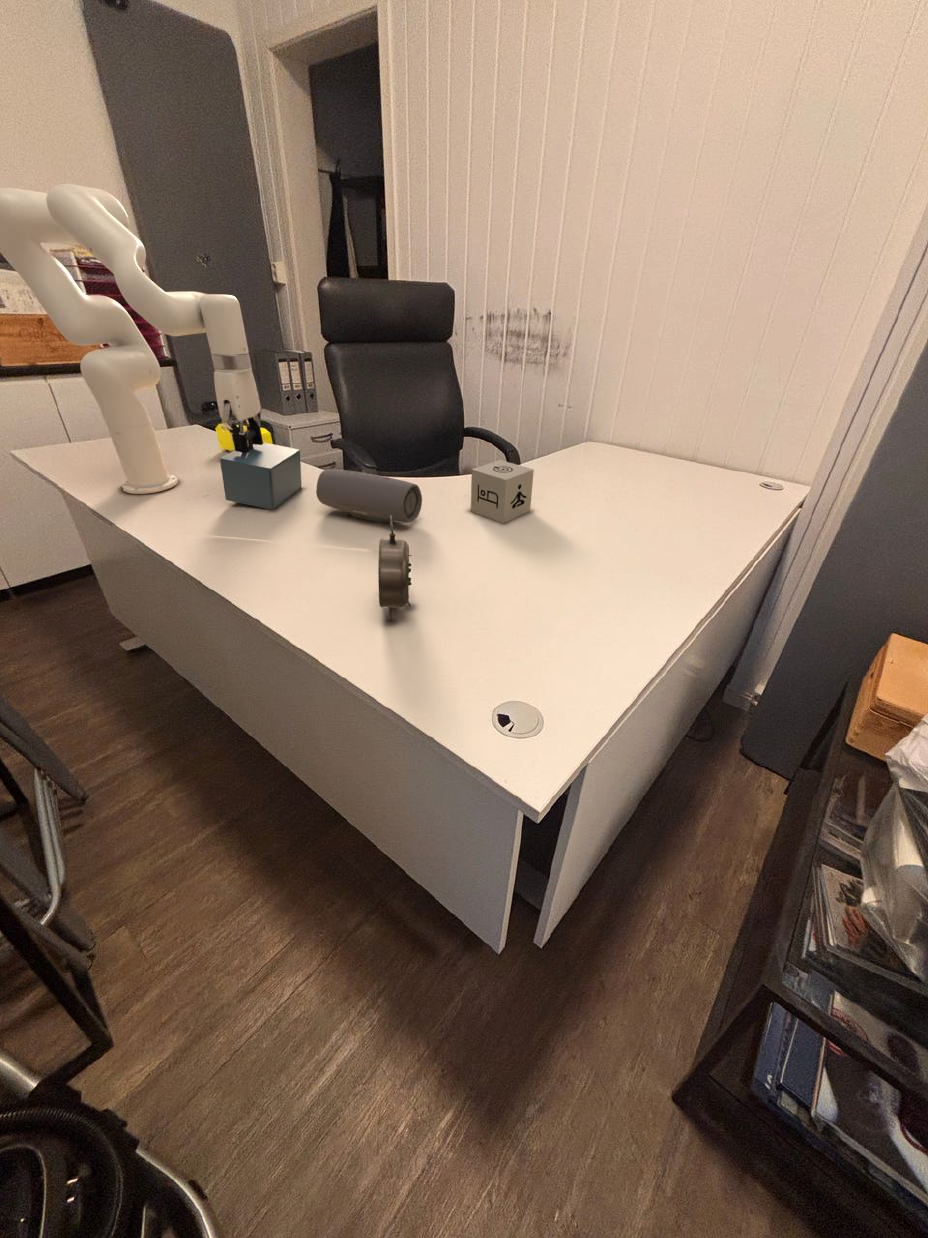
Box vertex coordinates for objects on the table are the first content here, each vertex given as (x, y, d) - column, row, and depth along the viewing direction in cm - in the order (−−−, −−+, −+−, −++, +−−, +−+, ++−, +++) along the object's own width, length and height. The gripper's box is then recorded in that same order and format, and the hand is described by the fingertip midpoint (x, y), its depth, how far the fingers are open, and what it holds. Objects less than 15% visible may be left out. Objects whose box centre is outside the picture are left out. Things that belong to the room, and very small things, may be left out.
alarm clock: (383, 590, 90) (375, 503, 80) (413, 589, 90) (409, 502, 81) (379, 626, 81) (370, 532, 71) (414, 625, 81) (409, 531, 72)
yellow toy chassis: (220, 451, 157) (212, 423, 152) (232, 446, 161) (225, 419, 157) (263, 457, 153) (257, 428, 148) (274, 452, 157) (269, 423, 153)
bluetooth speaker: (424, 518, 116) (422, 475, 110) (403, 534, 109) (400, 489, 103) (342, 502, 124) (337, 461, 118) (318, 515, 117) (311, 472, 111)
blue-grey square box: (225, 499, 119) (216, 437, 111) (257, 479, 132) (252, 421, 123) (273, 510, 119) (268, 448, 110) (301, 488, 131) (299, 431, 122)
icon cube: (470, 511, 120) (471, 469, 114) (497, 500, 126) (499, 459, 120) (503, 523, 114) (506, 479, 109) (530, 510, 121) (533, 469, 115)
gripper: (237, 356, 116) (253, 437, 126) (191, 367, 102) (214, 457, 113) (267, 358, 115) (281, 439, 126) (225, 369, 101) (245, 460, 112)
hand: (249, 447), depth 119 cm, fingers closed on blue-grey square box, 5 cm apart
